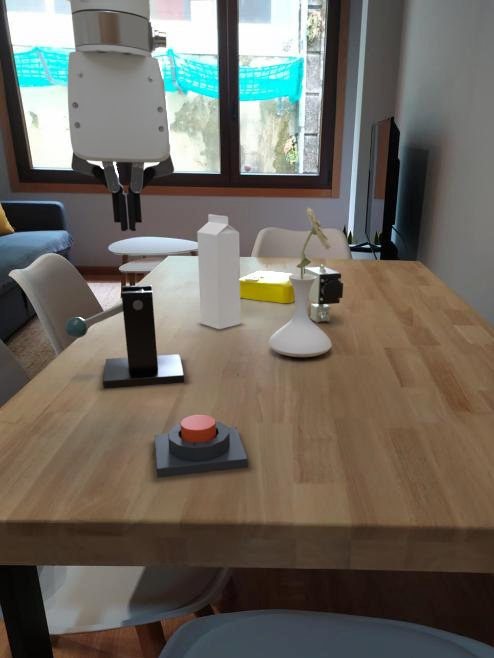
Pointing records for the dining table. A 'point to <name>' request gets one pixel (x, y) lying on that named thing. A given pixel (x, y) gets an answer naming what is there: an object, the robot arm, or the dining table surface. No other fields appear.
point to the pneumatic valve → (324, 291)
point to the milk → (219, 273)
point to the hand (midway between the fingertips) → (128, 229)
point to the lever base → (141, 346)
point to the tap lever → (90, 321)
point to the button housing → (199, 452)
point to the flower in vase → (302, 311)
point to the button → (198, 428)
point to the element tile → (267, 287)
